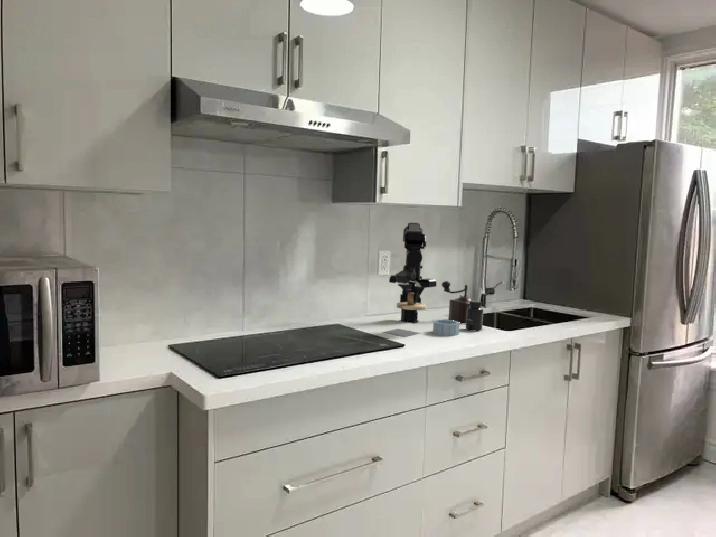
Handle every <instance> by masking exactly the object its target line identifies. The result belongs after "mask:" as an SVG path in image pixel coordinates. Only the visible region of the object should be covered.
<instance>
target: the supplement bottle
mask: <svg viewBox="0 0 716 537" xmlns="http://www.w3.org/2000/svg"><path fill="white" fill-rule="evenodd" d="M482 303H483V302H482V301H480V300H474V301H470V307H468V308H467V314H466V324H465V330H467V329H468V330H467V331H470V330H476V331H475V332H480V331H479V330H481V331H482V330H483V322H484V308H482V306H483V305H482ZM477 330H478V331H477Z"/></svg>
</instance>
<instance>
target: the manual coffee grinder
mask: <svg viewBox="0 0 716 537" xmlns="http://www.w3.org/2000/svg"><path fill="white" fill-rule="evenodd" d="M441 286H442V287H443V289H444V290H443V292H445V293H449V294H459V293H464V295H459V297H457V298H455V299H449V302H448V303H449V304H448V305H449V306H448V319H447V320H449V319H451V320H454V321H457V322H460V323H459V324H462V323H466V314H467V308H468V307H470V301H475V300H473V299H472V298H471V297H469V296H467V295H468V294H467V293H468V287H469V286H468V285H467V284H465V285H464V288H463V289H460V290H455V291H451V288H450V286H451V282H450V281H448V280H447V281H443V282H442V283H441Z"/></svg>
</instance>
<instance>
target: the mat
mask: <svg viewBox="0 0 716 537" xmlns="http://www.w3.org/2000/svg"><path fill="white" fill-rule="evenodd" d="M381 333H382V334H385V335H386V334H387V335H392V336H398V337H402V338H406V337H407V338H408V337H411V336H416V335H419V334H421V332H418V331H412V330H407V329H401V328H395V329H391V330H387V331H386V330H385V331H382V332H381Z"/></svg>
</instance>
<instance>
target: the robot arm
mask: <svg viewBox="0 0 716 537" xmlns="http://www.w3.org/2000/svg"><path fill="white" fill-rule="evenodd" d="M402 230H403V232H402V234H403V235H402V242H403V244H404V245H403V246H404V249H406V252H405V253H406V254H405V256H406V257H405V265H403V268H402V270H400V271H399V272H397V273H396V274H393V275H390V277H389V281H388V282H389V283H392V284H396V283H397V286H398V287H400V288H401V294H400V296H399V298H400V299H399V303H400V302H407V300H408V293H414V304H416V303H422V302H421V301H422V297H421V295H422V293H423V291H424V290H425V289H427V288H436V287H437V280H436V279H435V278H423V276H421V270H422V269H423V265H422V264H421V263H422V261H423V255H422V251H421V250H425V248H426V247H427V236H426V234H425V233H424V230H423V229H422V227H421V223H419V222H408V223H407V226H406V227H405V228H403V229H402ZM400 309H401V308H400ZM418 313H419V312H418V310H407V309H401V312H400V319H399V320H398V321H399V322H403V323H409V324H415V323H419V320H418V315H419V314H418Z"/></svg>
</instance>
